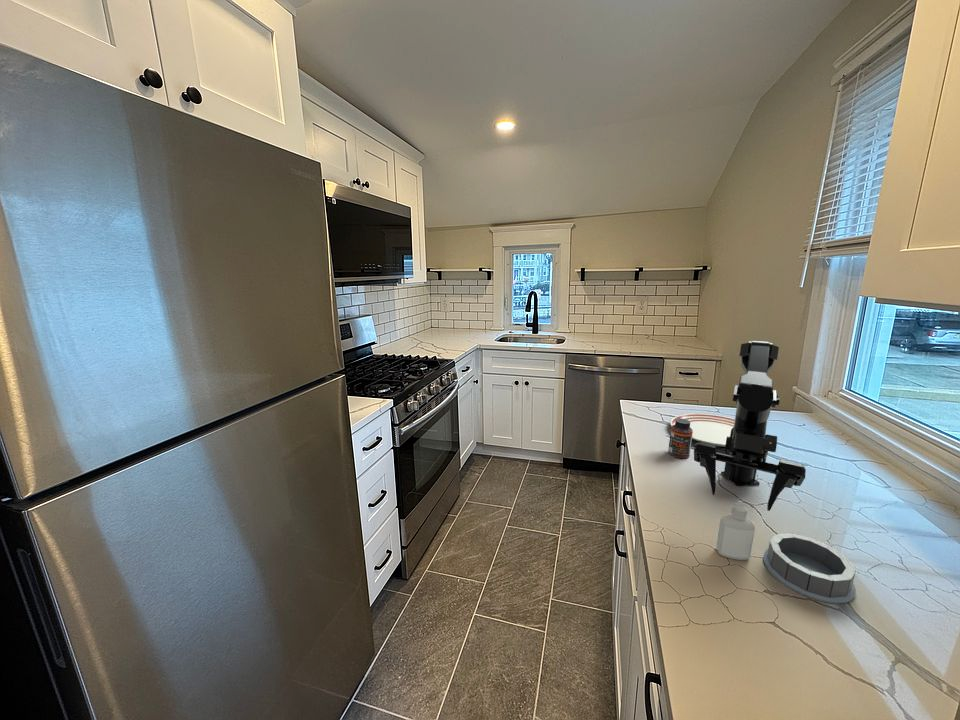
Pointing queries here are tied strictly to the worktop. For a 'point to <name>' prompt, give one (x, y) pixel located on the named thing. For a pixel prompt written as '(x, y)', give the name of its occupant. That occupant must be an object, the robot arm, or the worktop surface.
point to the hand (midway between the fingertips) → (740, 502)
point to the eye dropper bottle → (735, 534)
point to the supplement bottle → (680, 439)
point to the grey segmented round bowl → (810, 568)
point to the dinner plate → (708, 427)
